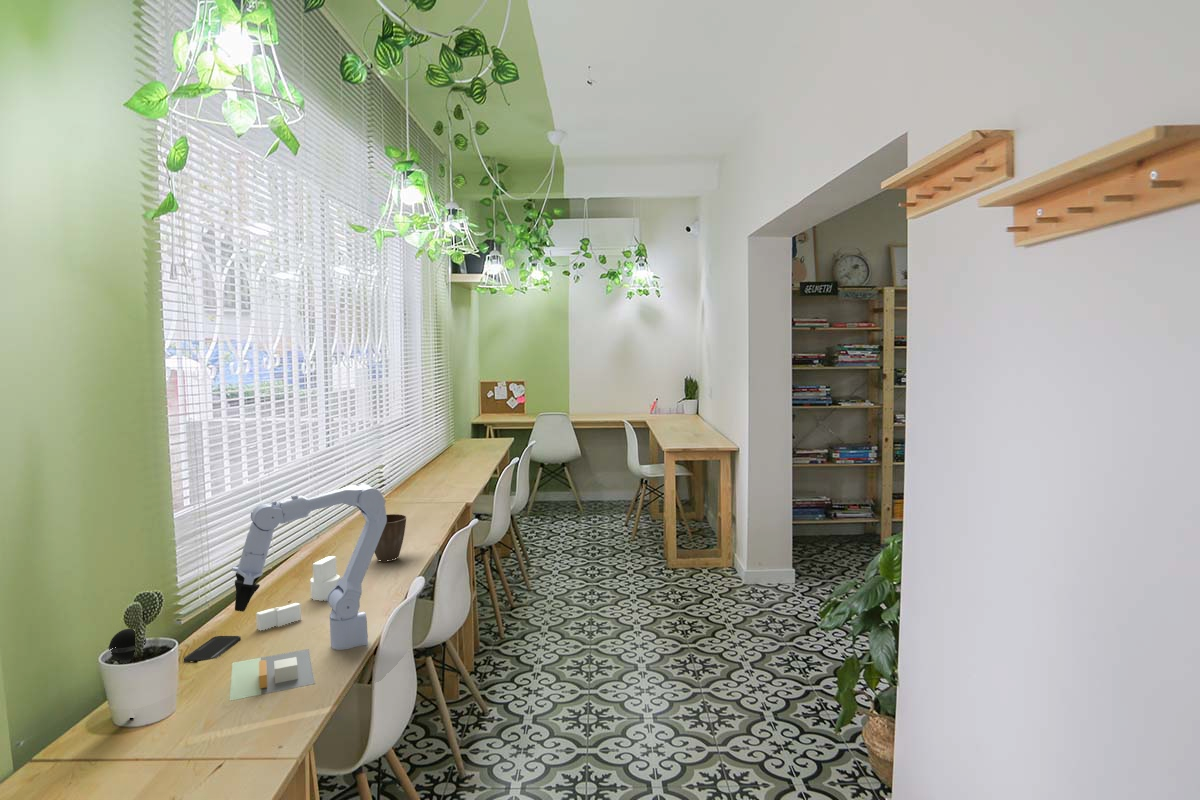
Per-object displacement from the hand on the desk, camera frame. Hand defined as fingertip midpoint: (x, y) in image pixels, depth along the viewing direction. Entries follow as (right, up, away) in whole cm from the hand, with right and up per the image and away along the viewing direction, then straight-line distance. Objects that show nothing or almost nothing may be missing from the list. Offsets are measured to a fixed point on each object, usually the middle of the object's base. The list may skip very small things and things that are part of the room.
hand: (239, 606), depth 175 cm
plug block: (+13, -16, -4) cm, 21 cm away
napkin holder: (-5, -15, +32) cm, 36 cm away
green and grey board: (+9, -17, -2) cm, 19 cm away
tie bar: (+9, -16, -6) cm, 19 cm away
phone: (-15, -17, +15) cm, 26 cm away
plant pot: (+8, -10, +96) cm, 97 cm away
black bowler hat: (-13, -19, -21) cm, 31 cm away
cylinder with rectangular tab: (0, -13, +56) cm, 57 cm away
